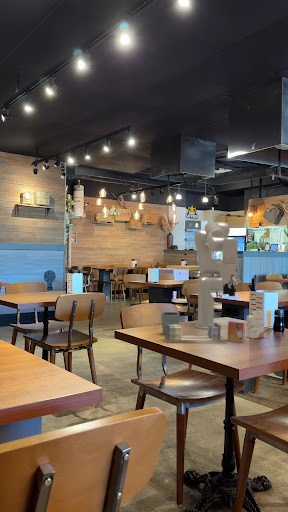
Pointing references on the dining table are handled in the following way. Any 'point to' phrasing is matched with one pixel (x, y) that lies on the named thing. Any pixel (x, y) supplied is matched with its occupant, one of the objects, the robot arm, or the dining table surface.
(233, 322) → the small box
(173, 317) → the grey green cup
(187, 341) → the bookshelf
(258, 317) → the ink cartridge box
